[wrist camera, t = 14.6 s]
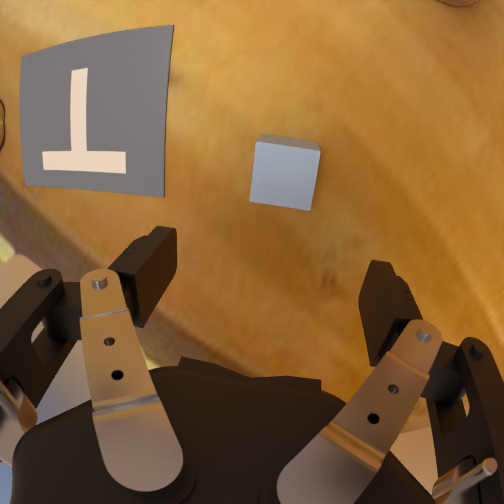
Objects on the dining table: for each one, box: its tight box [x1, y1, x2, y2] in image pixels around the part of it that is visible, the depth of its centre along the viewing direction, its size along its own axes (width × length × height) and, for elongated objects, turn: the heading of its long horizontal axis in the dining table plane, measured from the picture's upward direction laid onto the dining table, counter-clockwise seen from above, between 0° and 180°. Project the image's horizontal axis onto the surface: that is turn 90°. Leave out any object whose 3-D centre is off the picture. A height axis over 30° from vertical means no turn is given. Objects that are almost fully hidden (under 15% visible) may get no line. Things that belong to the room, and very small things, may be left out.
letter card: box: [20, 25, 174, 198], centre depth 27 cm, size 18×22×1 cm
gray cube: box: [249, 134, 321, 211], centre depth 26 cm, size 5×5×5 cm
